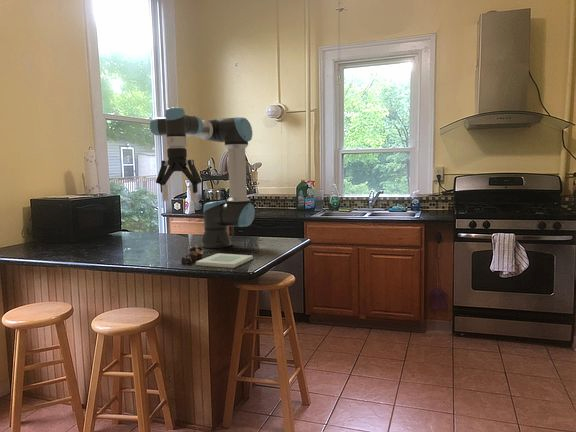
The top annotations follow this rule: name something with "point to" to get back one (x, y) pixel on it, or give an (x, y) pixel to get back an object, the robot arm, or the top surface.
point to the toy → (193, 255)
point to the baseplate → (224, 260)
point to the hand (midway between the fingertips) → (179, 201)
